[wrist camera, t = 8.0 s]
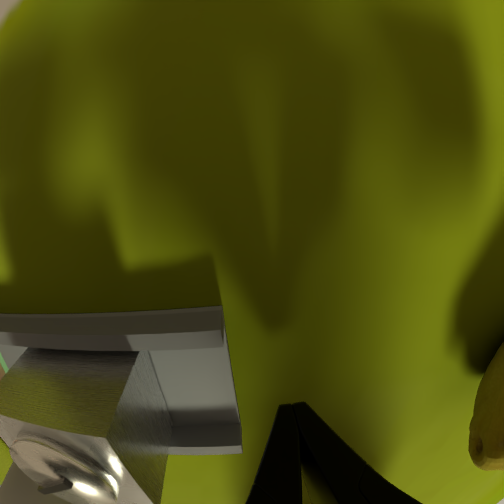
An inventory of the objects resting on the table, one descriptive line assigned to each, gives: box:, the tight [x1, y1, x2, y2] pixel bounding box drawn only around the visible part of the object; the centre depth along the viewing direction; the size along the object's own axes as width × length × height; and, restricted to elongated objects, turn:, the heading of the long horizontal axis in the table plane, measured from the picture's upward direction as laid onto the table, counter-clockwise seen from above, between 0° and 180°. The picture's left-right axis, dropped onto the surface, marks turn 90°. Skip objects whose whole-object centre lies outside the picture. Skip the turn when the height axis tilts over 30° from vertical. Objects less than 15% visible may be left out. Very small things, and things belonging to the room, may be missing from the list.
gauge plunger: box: [0, 347, 173, 504], centre depth 8 cm, size 5×4×5 cm
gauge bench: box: [0, 306, 243, 455], centre depth 7 cm, size 18×6×6 cm, turn 95°
